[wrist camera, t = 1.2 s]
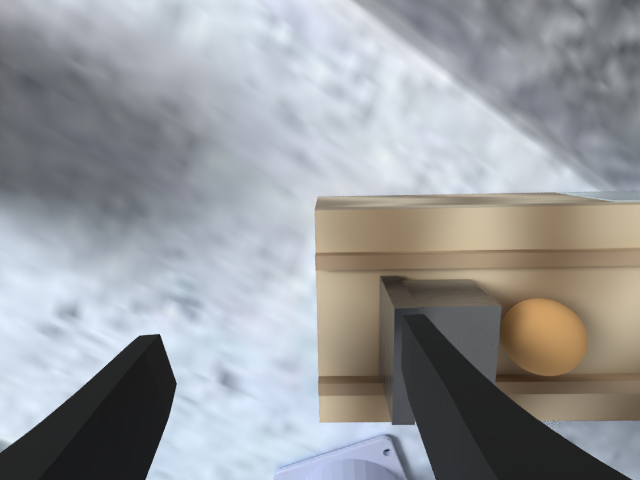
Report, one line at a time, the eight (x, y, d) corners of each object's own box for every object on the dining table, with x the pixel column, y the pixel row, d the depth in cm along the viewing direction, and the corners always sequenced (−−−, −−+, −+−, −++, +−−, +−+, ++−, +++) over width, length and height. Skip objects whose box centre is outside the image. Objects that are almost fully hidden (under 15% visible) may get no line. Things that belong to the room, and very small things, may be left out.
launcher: (321, 360, 24) (319, 431, 17) (317, 196, 21) (314, 212, 15) (620, 357, 23) (724, 428, 17) (646, 190, 21) (775, 204, 15)
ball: (565, 339, 17) (615, 377, 14) (499, 361, 17) (534, 402, 14) (548, 278, 16) (596, 304, 13) (480, 301, 17) (512, 332, 14)
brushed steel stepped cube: (378, 369, 17) (392, 424, 14) (379, 275, 16) (394, 308, 13) (464, 369, 17) (499, 424, 14) (470, 274, 16) (510, 307, 13)
